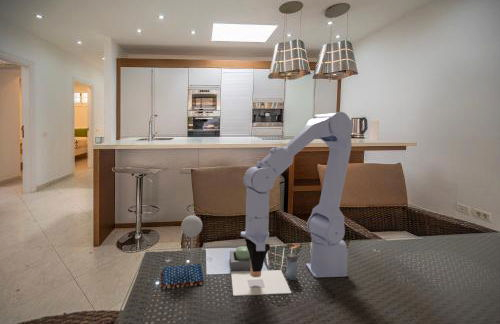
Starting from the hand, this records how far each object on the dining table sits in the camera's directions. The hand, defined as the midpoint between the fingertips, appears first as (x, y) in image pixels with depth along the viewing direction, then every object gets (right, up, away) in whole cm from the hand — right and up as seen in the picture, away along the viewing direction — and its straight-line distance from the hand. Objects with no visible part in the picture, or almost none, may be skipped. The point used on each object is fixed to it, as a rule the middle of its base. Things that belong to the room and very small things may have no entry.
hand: (256, 267), depth 75 cm
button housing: (-3, -3, +12) cm, 13 cm away
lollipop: (-18, -3, +9) cm, 21 cm away
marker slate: (+10, -4, +4) cm, 11 cm away
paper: (+1, -4, +2) cm, 5 cm away
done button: (-3, -2, +12) cm, 13 cm away
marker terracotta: (0, -2, 0) cm, 2 cm away
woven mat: (-19, -5, +3) cm, 20 cm away
